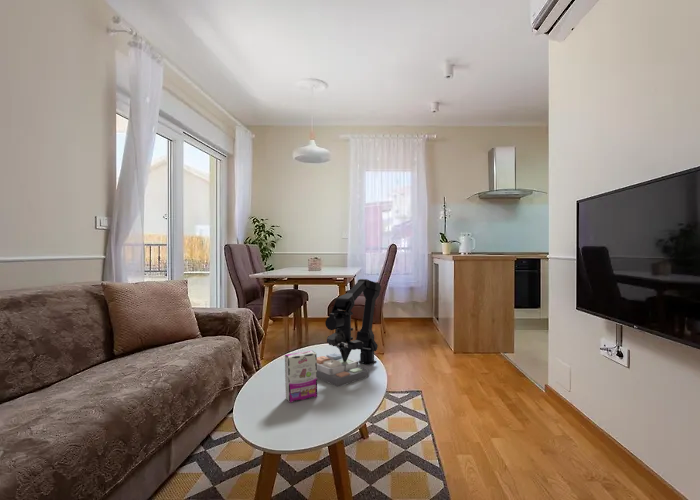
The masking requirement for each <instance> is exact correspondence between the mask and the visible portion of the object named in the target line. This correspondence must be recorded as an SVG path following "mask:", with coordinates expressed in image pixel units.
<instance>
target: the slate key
mask: <svg viewBox="0 0 700 500" xmlns="http://www.w3.org/2000/svg"><path fill="white" fill-rule="evenodd" d="M326 357H328V358H330V360H332V359H334V360H338V359H342V355H341V353H337V352H334V353H333V352H332V353H329V354H326Z"/></svg>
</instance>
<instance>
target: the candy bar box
mask: <svg viewBox="0 0 700 500" xmlns="http://www.w3.org/2000/svg"><path fill="white" fill-rule="evenodd" d="M317 357H318V356H317V353H316V352H315V351H314V350H307V351H301V352H295V353H287V354H284V374H285V375H284V379H285V380H284V381H285V385H284V386H285V399H286V400H287V401H288V402H289V403H294V402H299V401H304V399H305V400H309V399H314V398H318V378H317Z"/></svg>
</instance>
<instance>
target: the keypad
mask: <svg viewBox="0 0 700 500" xmlns="http://www.w3.org/2000/svg"><path fill="white" fill-rule="evenodd" d="M340 360H343V358H342V359H338V360H336V361H340ZM347 360H350V361H353V362H351V363H347V364H342V363H341V365H340V366H336V367H333V368H330V367H327V366H324V363H323V364H319V363H317V379H318V380H321V381H324V382H326V383H328V384H331V385H332V386H336V387H341V386H344V385H348V384H352V383H354V382H357V381H360V380H363V379H366V378H368V377H370V376H369V369H368V368H365V367H362V366H359V362H358V361H359V360H355V359H352V358H349V357H348V358H347Z"/></svg>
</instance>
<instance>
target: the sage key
mask: <svg viewBox="0 0 700 500" xmlns="http://www.w3.org/2000/svg"><path fill="white" fill-rule="evenodd" d="M339 362H341V363H342V364H347V363H351V362H353V361H350V360H347V361H345V362H344V361H343V360H340V361H339Z"/></svg>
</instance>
